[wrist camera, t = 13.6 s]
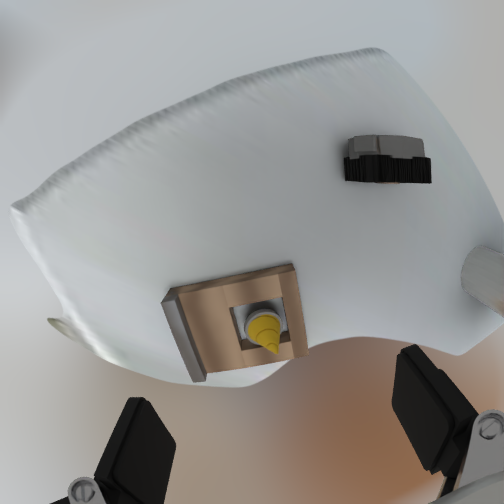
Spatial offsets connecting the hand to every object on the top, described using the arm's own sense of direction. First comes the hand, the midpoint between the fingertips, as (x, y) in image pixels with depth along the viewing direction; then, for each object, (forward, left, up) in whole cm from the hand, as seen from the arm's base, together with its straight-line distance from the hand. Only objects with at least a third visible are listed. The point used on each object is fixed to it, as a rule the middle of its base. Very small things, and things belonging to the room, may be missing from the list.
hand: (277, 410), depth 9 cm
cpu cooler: (-18, -7, -31) cm, 36 cm away
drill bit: (+2, +12, -31) cm, 33 cm away
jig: (+5, +12, -30) cm, 33 cm away
